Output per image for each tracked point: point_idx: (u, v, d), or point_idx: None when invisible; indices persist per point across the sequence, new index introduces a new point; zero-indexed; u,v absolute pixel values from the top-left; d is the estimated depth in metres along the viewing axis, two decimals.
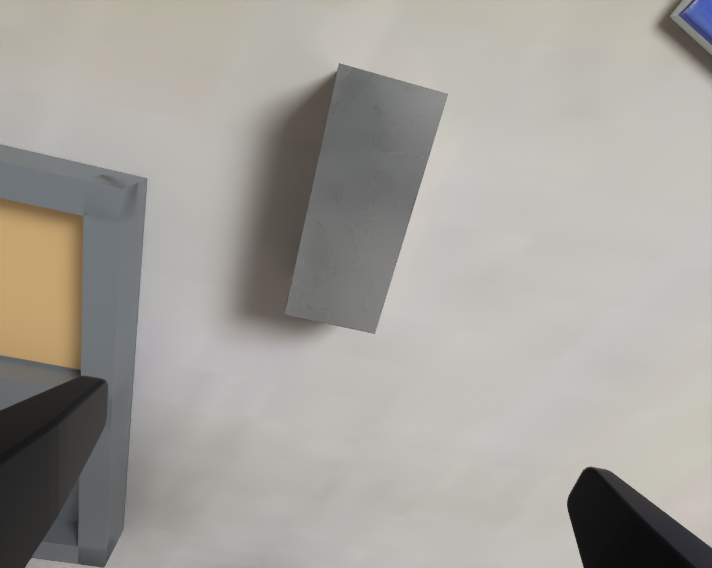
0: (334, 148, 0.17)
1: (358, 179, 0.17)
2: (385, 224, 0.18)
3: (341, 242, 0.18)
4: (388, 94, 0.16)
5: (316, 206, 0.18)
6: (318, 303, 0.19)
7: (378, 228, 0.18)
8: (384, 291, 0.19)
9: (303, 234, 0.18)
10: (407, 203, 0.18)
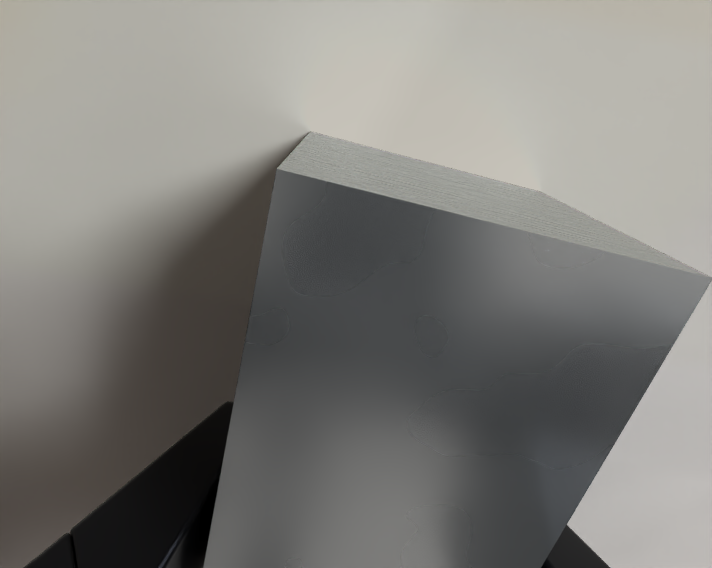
0: (273, 446, 0.05)
1: (358, 523, 0.05)
2: None
3: None
4: (478, 281, 0.04)
5: None
6: None
7: None
8: None
9: None
10: None
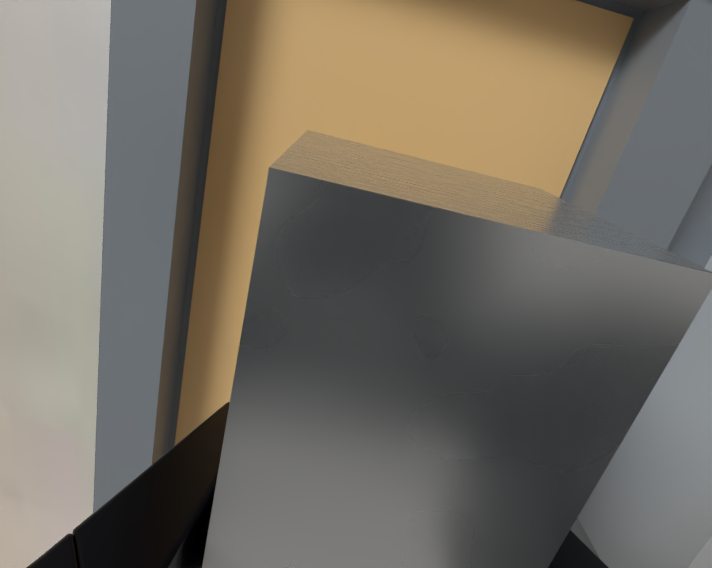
0: (270, 452, 0.05)
1: (359, 529, 0.05)
2: None
3: None
4: (478, 281, 0.04)
5: None
6: None
7: None
8: None
9: None
10: None
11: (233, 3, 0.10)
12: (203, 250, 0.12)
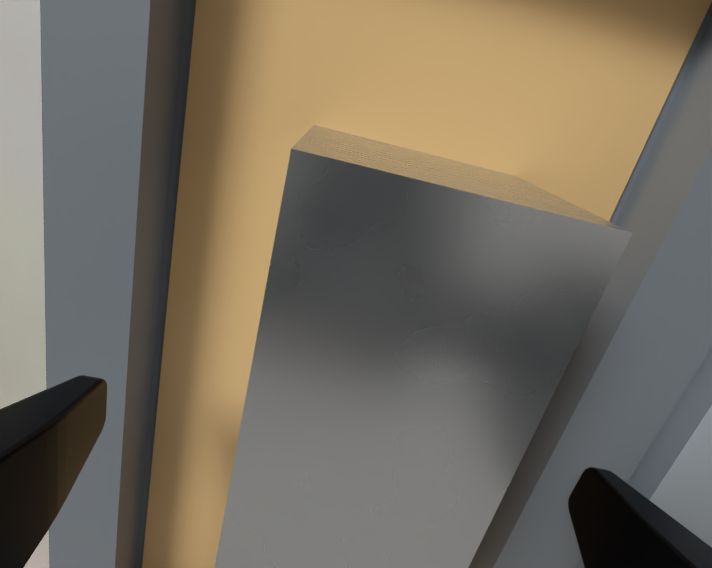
0: (288, 375, 0.06)
1: (358, 445, 0.06)
2: (428, 533, 0.07)
3: (318, 567, 0.07)
4: (449, 236, 0.05)
5: (249, 500, 0.07)
6: None
7: (409, 539, 0.07)
8: None
9: (220, 555, 0.07)
10: (488, 490, 0.07)
11: None
12: (177, 281, 0.10)
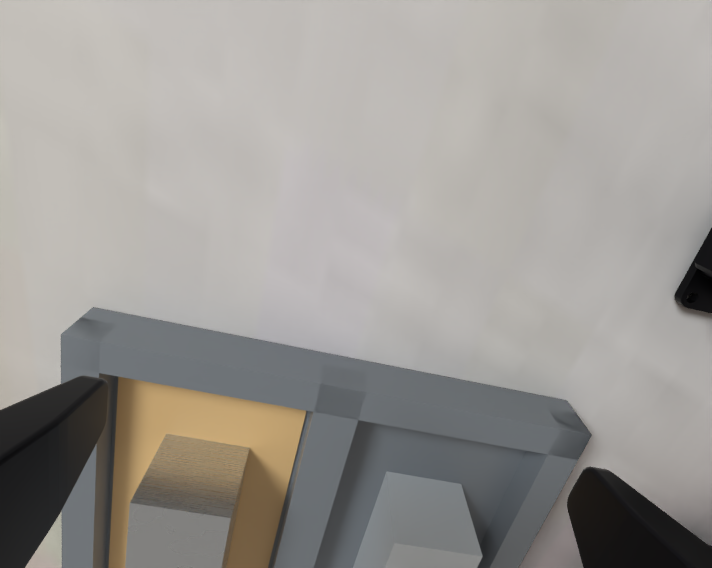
0: (138, 552, 0.19)
1: None
2: None
3: None
4: (178, 519, 0.18)
5: None
6: None
7: None
8: None
9: None
10: None
11: (120, 394, 0.21)
12: (116, 483, 0.23)
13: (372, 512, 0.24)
